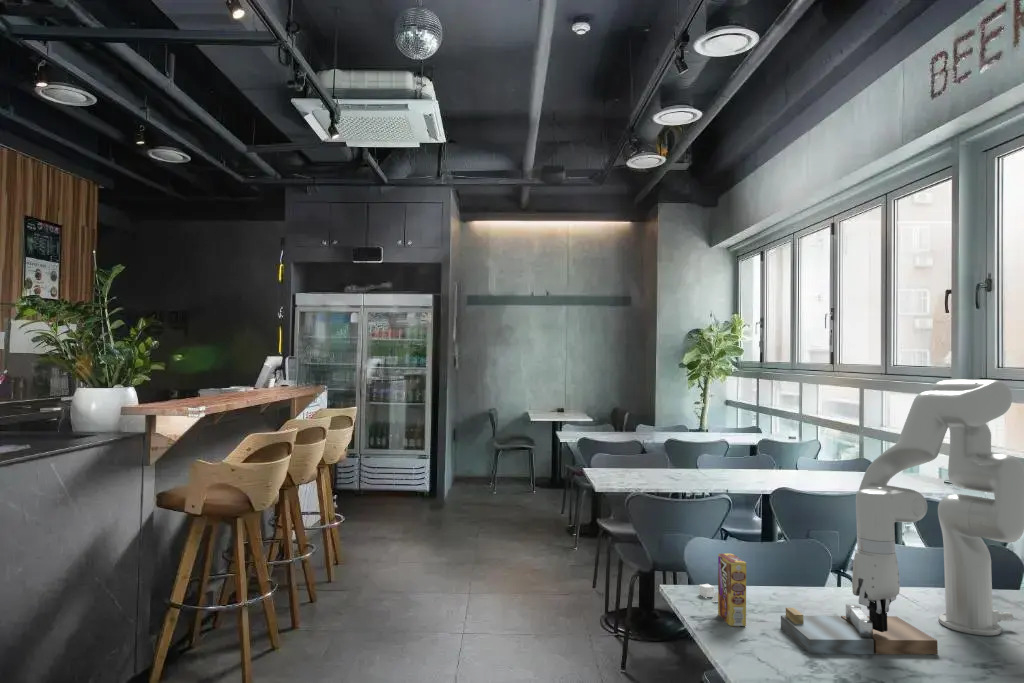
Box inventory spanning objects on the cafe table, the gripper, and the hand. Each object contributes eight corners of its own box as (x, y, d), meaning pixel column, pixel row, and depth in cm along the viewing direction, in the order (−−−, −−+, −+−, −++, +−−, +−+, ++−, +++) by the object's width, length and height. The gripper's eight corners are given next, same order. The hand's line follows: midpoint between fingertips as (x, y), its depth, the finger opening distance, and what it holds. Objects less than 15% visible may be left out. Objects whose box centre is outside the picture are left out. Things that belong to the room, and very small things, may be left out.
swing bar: (844, 616, 158) (844, 603, 158) (859, 617, 157) (858, 604, 157) (860, 636, 145) (859, 622, 145) (876, 638, 144) (875, 624, 144)
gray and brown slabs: (896, 629, 159) (896, 607, 159) (937, 654, 144) (937, 631, 144) (780, 628, 158) (780, 606, 159) (809, 653, 143) (809, 629, 144)
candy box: (747, 627, 159) (747, 562, 160) (730, 627, 159) (729, 562, 160) (734, 614, 168) (733, 553, 169) (717, 614, 168) (716, 553, 169)
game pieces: (698, 596, 183) (698, 584, 183) (708, 595, 184) (708, 583, 184) (726, 609, 172) (726, 597, 172) (736, 608, 173) (736, 595, 173)
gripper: (883, 539, 154) (886, 619, 153) (837, 545, 148) (840, 628, 147) (914, 546, 148) (917, 630, 146) (867, 553, 142) (870, 641, 140)
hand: (878, 629), depth 147 cm, fingers closed
